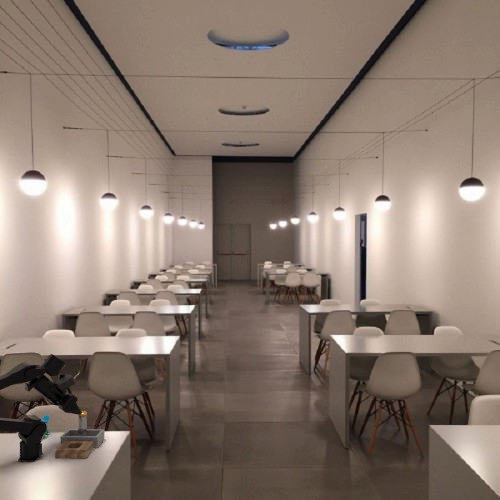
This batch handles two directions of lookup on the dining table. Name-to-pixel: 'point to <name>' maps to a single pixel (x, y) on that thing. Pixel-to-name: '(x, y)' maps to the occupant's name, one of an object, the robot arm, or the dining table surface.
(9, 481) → the dining table surface
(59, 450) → the wooden socket block
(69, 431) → the tray
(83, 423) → the stop pin
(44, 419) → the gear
